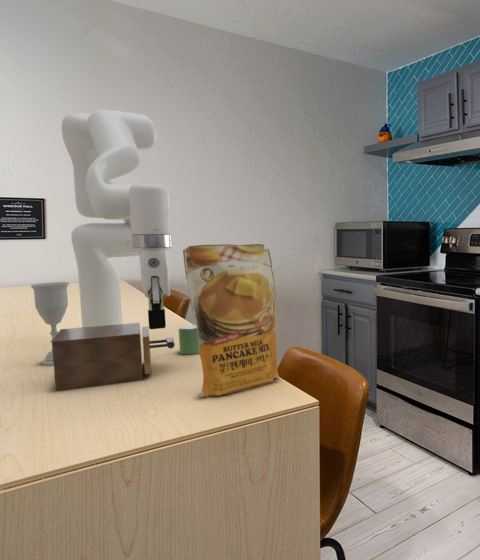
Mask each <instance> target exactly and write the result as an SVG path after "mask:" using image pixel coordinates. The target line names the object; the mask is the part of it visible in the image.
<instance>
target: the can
mask: <svg viewBox="0 0 480 560" xmlns="http://www.w3.org/2000/svg"><path fill="white" fill-rule="evenodd" d="M178 345H179V354H180V355H195V354H199V342H198V330H197V326H196V324H187V325H183V326H180V327H179V328H178Z"/></svg>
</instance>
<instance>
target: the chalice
mask: <svg viewBox="0 0 480 560" xmlns="http://www.w3.org/2000/svg"><path fill="white" fill-rule="evenodd" d="M69 283H70V282H66V281H65V282H63V281H62V282H61V281H59V282H43V283H42V282H41V283H34V284H31V285H30V287H31V289H32V290H33V293H34V295H33V297H34V308H35V309H36V312H37V313H38V315H39V317H40V318H41V320H43V322H44V323H45V324H46V325H50V328H51V329H50V333H49V335H50V336H51V340H50V343H51V344H52V341H53V340H54V338H55V337H56V335H57V334H58V332H59V331H58V329H57V326H58V324H60V323H61V322H62V320H63V319H64V316H65V315H66V312H67V308H68V305H69V300H68V286H69ZM42 365H48V366H54V362H53V350H52V349H51V350H50V351H49V352H47V353H46V355H45V357H44V361H43V362H42Z"/></svg>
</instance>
